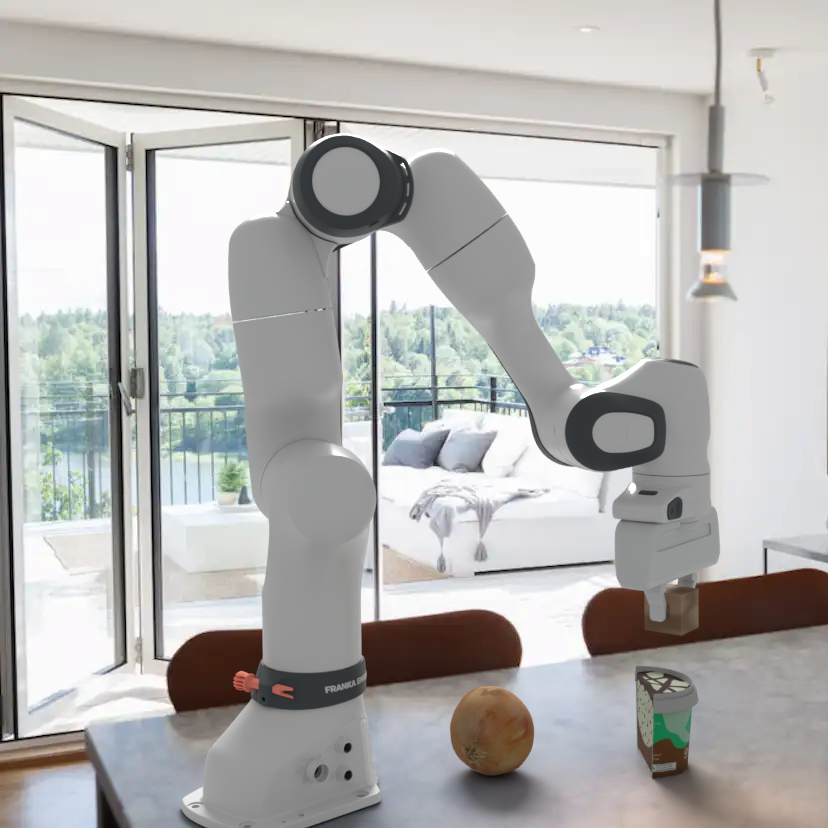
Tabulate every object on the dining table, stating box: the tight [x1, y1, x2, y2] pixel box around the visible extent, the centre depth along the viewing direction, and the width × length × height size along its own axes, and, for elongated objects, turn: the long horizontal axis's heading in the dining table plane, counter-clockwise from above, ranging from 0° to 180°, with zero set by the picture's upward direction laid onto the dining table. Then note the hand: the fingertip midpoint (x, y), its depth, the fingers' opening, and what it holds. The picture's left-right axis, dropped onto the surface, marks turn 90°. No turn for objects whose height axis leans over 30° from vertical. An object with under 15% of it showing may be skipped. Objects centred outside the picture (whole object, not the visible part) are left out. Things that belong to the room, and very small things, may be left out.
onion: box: [449, 685, 535, 776], centre depth 126 cm, size 10×10×10 cm
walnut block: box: [643, 583, 700, 637], centre depth 128 cm, size 5×5×5 cm
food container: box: [634, 665, 699, 779], centre depth 129 cm, size 12×6×10 cm, turn 179°
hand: (671, 614), depth 128 cm, fingers closed on walnut block, 5 cm apart
